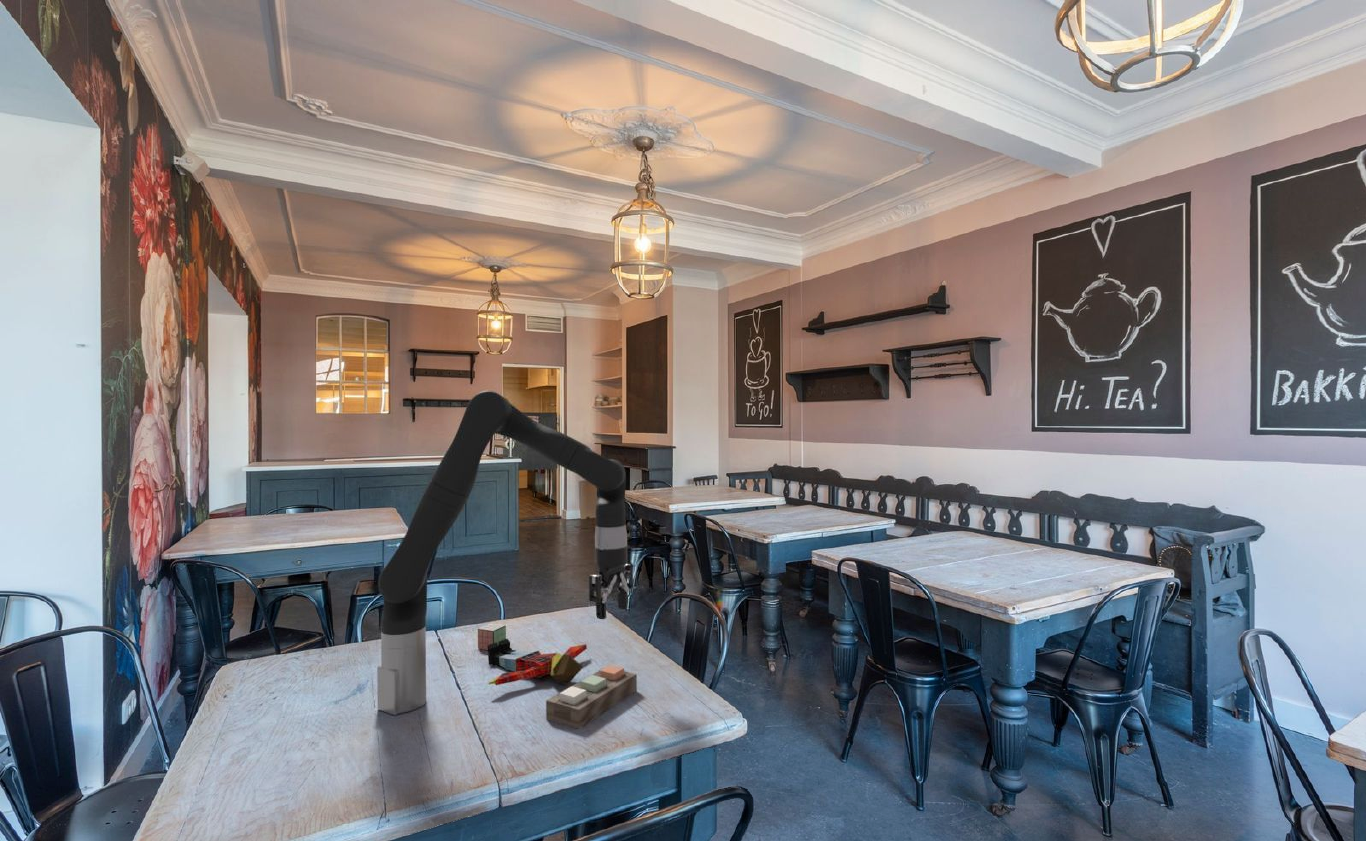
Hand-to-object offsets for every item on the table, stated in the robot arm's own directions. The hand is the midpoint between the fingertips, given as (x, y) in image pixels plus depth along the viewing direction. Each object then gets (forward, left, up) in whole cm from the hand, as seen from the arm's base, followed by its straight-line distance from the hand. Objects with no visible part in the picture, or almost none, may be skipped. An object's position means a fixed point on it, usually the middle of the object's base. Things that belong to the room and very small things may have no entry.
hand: (612, 613), depth 147 cm
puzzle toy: (+8, +49, -19) cm, 53 cm away
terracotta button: (0, 0, -16) cm, 16 cm away
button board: (-7, 0, -19) cm, 20 cm away
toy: (0, +25, -19) cm, 31 cm away
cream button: (-14, 0, -16) cm, 21 cm away
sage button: (-7, 0, -16) cm, 18 cm away
